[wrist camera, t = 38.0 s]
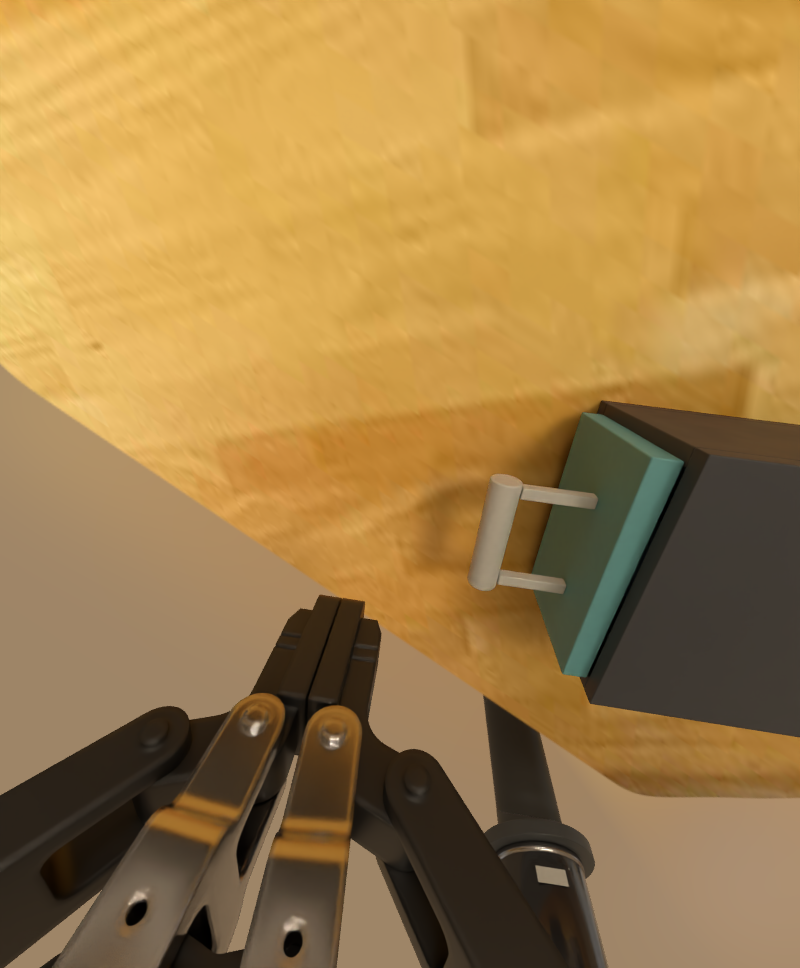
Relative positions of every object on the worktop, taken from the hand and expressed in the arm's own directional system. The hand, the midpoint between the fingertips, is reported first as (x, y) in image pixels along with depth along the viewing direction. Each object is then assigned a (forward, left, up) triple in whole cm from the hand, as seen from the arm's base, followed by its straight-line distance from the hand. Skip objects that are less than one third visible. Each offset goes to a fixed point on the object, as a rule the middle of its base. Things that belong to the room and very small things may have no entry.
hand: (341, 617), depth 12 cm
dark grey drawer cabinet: (0, -18, -13) cm, 22 cm away
